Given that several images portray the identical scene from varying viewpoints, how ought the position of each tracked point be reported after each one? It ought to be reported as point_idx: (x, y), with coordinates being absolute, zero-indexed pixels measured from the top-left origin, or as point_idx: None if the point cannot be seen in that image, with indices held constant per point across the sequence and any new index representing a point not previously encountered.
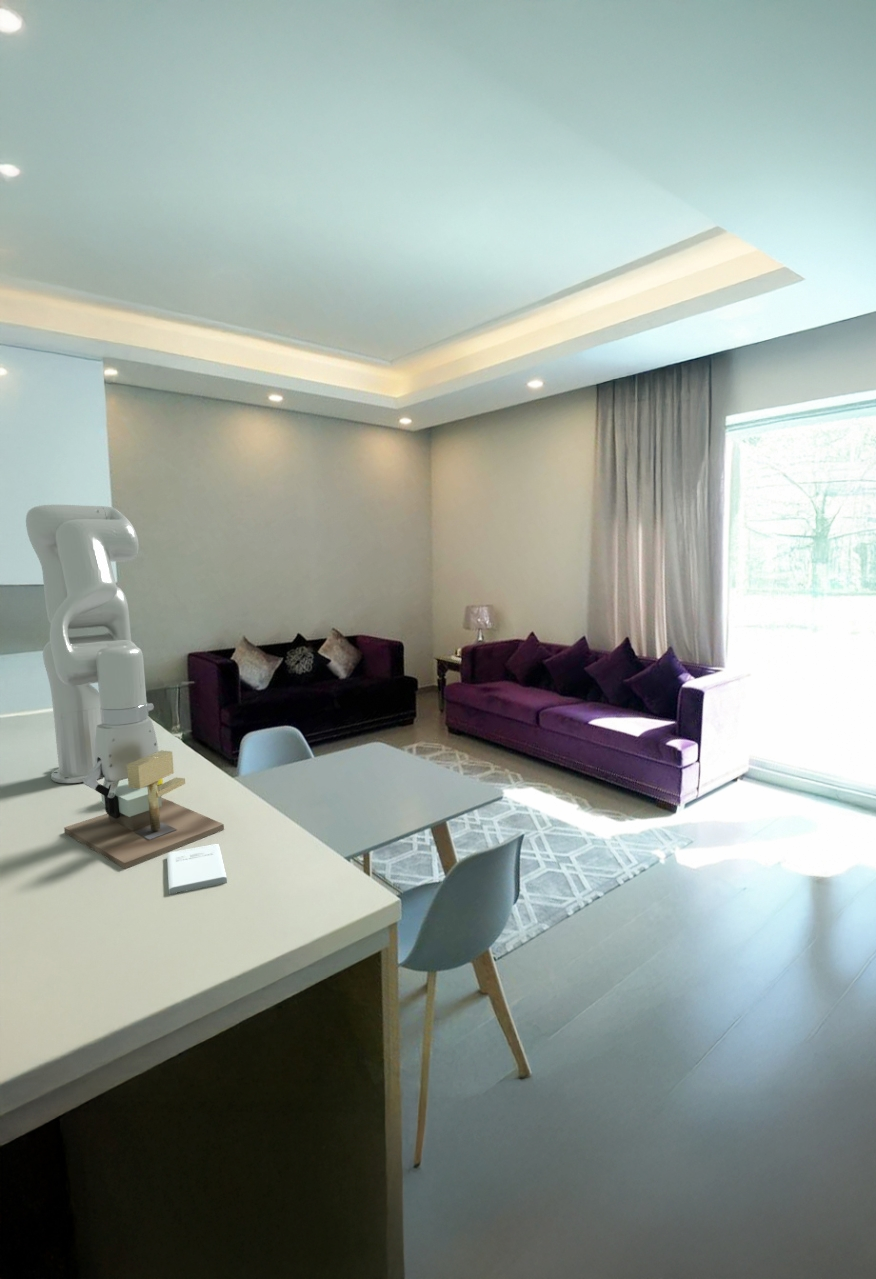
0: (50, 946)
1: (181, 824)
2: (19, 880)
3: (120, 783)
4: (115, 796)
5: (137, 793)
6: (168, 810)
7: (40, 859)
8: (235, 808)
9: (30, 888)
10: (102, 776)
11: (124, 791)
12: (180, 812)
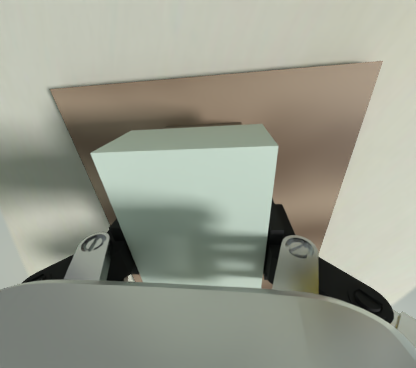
0: None
1: None
2: (18, 228)
3: (190, 167)
4: (133, 267)
5: None
6: (296, 199)
7: (33, 188)
8: (391, 259)
9: (38, 253)
10: (34, 281)
11: (169, 259)
12: (301, 228)
